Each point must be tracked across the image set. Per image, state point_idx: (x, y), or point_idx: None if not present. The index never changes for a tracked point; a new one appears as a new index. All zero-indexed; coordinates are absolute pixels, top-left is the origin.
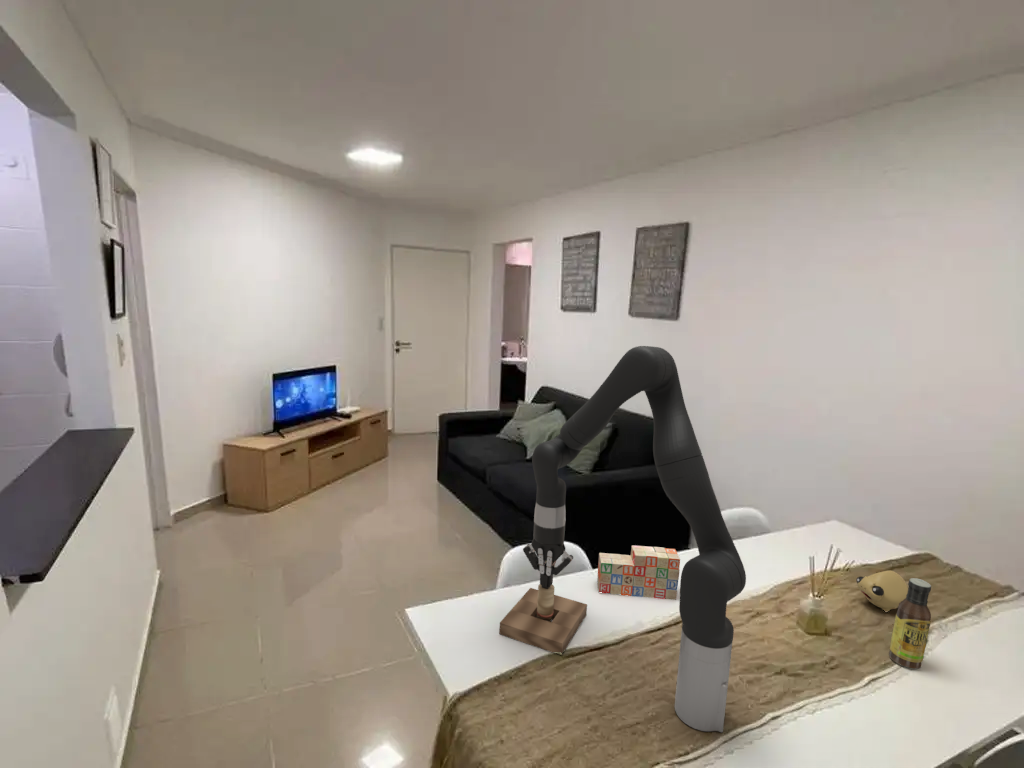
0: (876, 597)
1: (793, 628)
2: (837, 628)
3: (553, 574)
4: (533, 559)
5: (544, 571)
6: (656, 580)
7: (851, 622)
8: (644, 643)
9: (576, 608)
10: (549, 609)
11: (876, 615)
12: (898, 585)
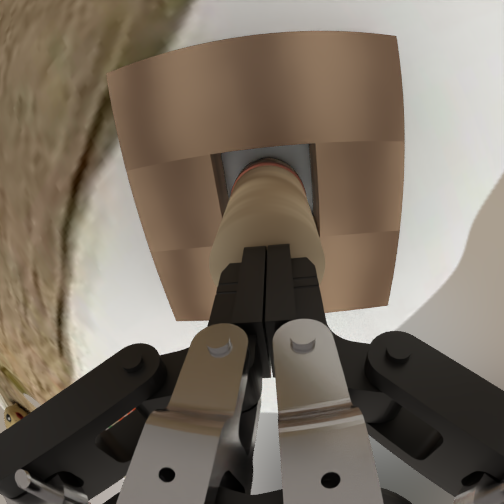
0: (9, 412)
1: (13, 372)
2: (6, 379)
3: (176, 352)
4: (452, 429)
5: (273, 352)
6: (117, 421)
7: (11, 389)
8: (40, 266)
9: (187, 288)
10: (232, 192)
11: (15, 399)
12: (5, 422)
